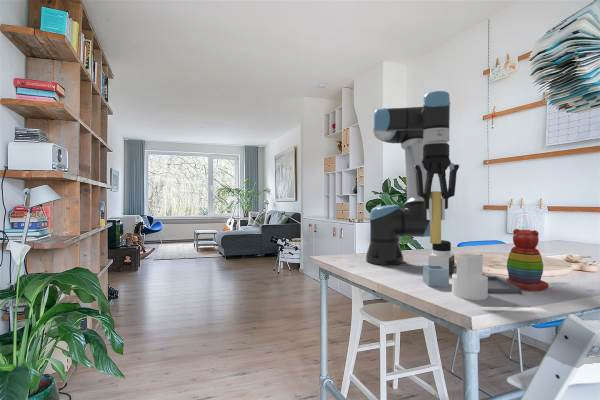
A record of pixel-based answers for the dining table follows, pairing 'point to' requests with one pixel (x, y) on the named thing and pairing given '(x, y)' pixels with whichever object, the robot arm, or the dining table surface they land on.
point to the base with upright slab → (470, 278)
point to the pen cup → (436, 275)
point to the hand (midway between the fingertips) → (435, 219)
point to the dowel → (435, 217)
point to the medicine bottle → (442, 255)
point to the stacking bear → (526, 262)
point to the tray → (501, 286)
